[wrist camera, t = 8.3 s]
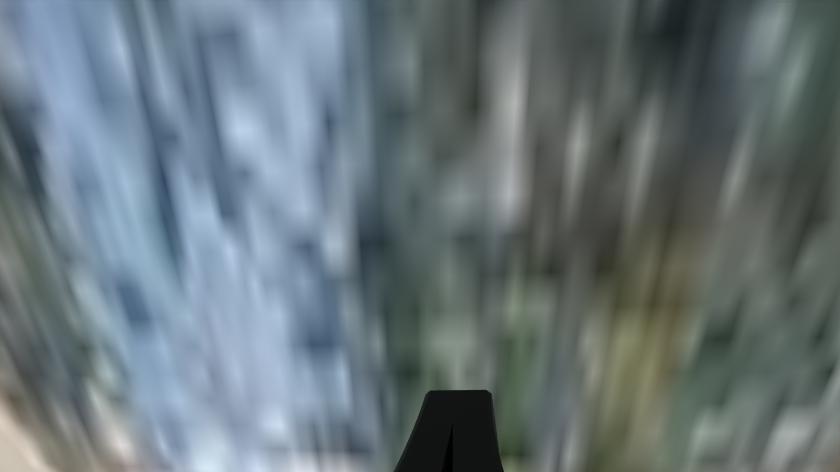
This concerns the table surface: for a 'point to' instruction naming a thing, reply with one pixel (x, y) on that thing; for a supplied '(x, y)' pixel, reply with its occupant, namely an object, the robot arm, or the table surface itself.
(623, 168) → the table surface
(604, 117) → the table surface
